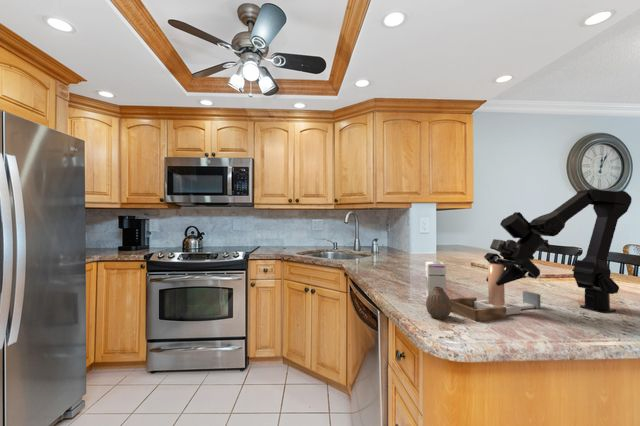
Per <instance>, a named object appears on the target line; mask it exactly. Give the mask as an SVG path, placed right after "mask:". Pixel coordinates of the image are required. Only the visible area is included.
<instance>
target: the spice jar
mask: <svg viewBox="0 0 640 426" xmlns="http://www.w3.org/2000/svg"><path fill="white" fill-rule="evenodd" d="M504 270H505V269H504V265H502V264H490V263H487V277H488V282H487V283H488V284H487V287H488V288H487V289H488V300H489V304H492V305H496V306H504V305H505V302H506V301H505V297H506V296H505V295H506V294H505V284H503V285H500V286H498V285H497V284H496V282H497V280H498V279H499V278H500V276H501V275H502V274H503V273H504Z"/></svg>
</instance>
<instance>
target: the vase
mask: <svg viewBox="0 0 640 426" xmlns="http://www.w3.org/2000/svg"><path fill="white" fill-rule="evenodd" d="M450 299H451V298H450V297H449V296H448V294H447V292H446V293H445V292H444V290H443V288H442V287H434V288H433V290H432V291H431V293H430V294H429V295H428V297H427V300H426V299H425V306H426V310H427V313H428V314H429V316H431V318H433V319H437V320H446V319H447V318H448V317H449V316H450V314H451V312H452V311H451V302H450Z"/></svg>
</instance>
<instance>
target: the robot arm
mask: <svg viewBox="0 0 640 426" xmlns="http://www.w3.org/2000/svg"><path fill="white" fill-rule="evenodd" d="M632 199H633V198H632V197H631V195H630V194H629V192H627V191H625V190H617V191H616V190H603V189H601V190H600V189H596V188H588V189H580V190H579V191H577V192H576V194H574V195H573V196H572V197H571V198H569V199H568V200H567V201H565V202H564V203H562V204H561V205H559V206H558V207H557V208H554V210H553V211H551V212H549V213H545V214H542V215H540V216H537V217H534V219H532V220H531V221H528V220H527V219H526V218H525V216H523V214H522V213H521V212H520V211H519V212H518V211H517V212H513V214H510V215H508V216H506V217H505V218H502V220H501V221H500V227H502V228H503V229H504V231H506V232H507V233H508V234H509V235H510V236H511V237H512V238H513V239H518V240H517V241H516V240H513V239H507V240H502V239H497V238H496V239H492V242H491V244H490V246H489V249H491V250H494V251H496V252H498V253H499V254H498V253H494V252H487V253H486V254H484V256H483V258H484V259H485V260H486V261H487V262H488V264H502V265H504V273H503V274H502V275H501V276H500V278H499V279H498V280H497V282H496V284H497V285H498V286H500V285H503V284H504V285H506V284H508V283H511V282H514V281H518V280H521V279H526V278H527V277H529V278H531V279H535V280H537V278H538V277H539V276H540V275H541V269H540V268H539V267H538V266H537V265H536V264H535V263H534V262H533V261H534V259H535V256H534V254H536V253H537V251H538V250H539V249H540V248H541V249H550V244H549V239H544V237H556V236H558V235H559V234H560V233H561V232H562V230H563V229H564V228H566V227H565V226H566V223H567V222H568V221H569V220H571V218H573V217H574V216H576V215H577V214H578V213H580V212H581V211H583V210H584V209H585V208H587V207H588V206H589V205H591V206H592V205H593V211H594V213H595V214H596V215H595V216H596V218H595V223H594V226H593V229H592V233H591V236H590V239H589V243H588V244H589V245H588V248H587V251H586V254H585V257H584V258H582V259H576V260H575V261H574V267H573V268H572V271H571V272H572V273H573V275H572V276H573V278H574V279H575V282H576V285H577V287H578V288H582V289H584V304H580V305H579V308H583V309H587V310H592V311H594V312H595V311H596V312H598V313H603V314H604V313H610V312H611V313H612V312H616V311H617V308H616V309H615V308H612V307H611V298H610V297H611V296H610V294H611V295H615V294H618V293H619V290H620V286H619V285H618V284H617V283H616V282H615V281H614V280H613V279H612V278H611V272H612V271H611V268H610V267H609V264H608V262H607V261H608V260H607V259H608V257H609V252H610V249H611V245H612V242H613V239H614V235H615V232H616V228H617V224H618V221H619V219H620V218H621V217H622V216H624V214H626V213H627V212H628V210H629V208H630V207H631V204H632ZM526 274H527V276H526ZM485 281H486V282H487V283H488V276H486V279H485Z"/></svg>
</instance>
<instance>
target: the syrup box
mask: <svg viewBox="0 0 640 426" xmlns="http://www.w3.org/2000/svg"><path fill="white" fill-rule="evenodd" d="M424 264H425V265H424V266H425V297H426V298H425V301H426V300H427V297H428V295H429V294H430V293H431V291H432V290H433V288H434V287H442V288H443V290H444V292H445V293H446V294H447V278H446V277H447V275H446V272H447V271H446V264H445V263H443V262H441V261H425V263H424Z"/></svg>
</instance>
